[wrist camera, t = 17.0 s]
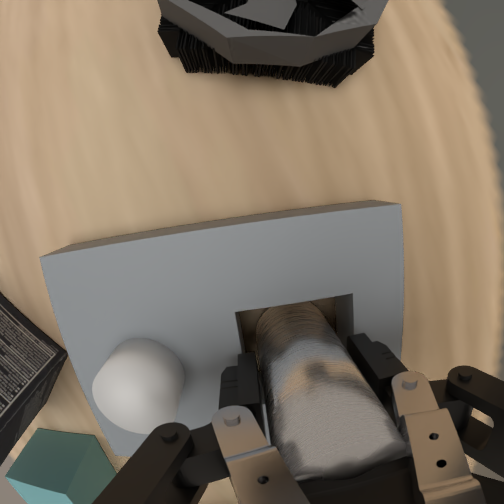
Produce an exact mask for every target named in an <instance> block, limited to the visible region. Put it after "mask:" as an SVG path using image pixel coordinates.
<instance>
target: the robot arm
mask: <svg viewBox="0 0 504 504" xmlns="http://www.w3.org/2000/svg"><path fill="white" fill-rule="evenodd" d="M347 352H348V353H349V355H350V356H351V358H352V359H353V361H354V362H355V364H356V365H357V367H358V368H359V370H360V371H361V373H362V374H363V376H364V377H365V379H366V381H367V382H368V384H369V385H370V387H371V388H372V390H373V391H374V393H375V394H376V396H377V397H378V399H379V400H380V402H381V404H382V405H383V407H384V408H385V410H386V411H387V413H388V414H389V416H390V418H391V419H392V421H393V422H394V424H395V425H396V427H397V428H398V430H399V432H400V433H401V435H402V437H403V439H404V441H405V444H406V449H405V450H406V453H407V456H405V457H402V458H399V459H396V460H393V461H390V462H387V463H384V464H381V465H379V466H377V467H375V468H374V469H372V470H370V471H368V472H366V473H364V474H362V475H360V476H358V477H356V478H354V479H347V480H318V481H312V482H307V483H301V484H298V483H297V482H296V480H295V478H294V477H293V475H292V474H291V472H290V470H289V469H288V467H287V465H286V464H285V462H284V460H283V459H282V457H281V455H280V453H279V452H278V450H277V448H276V447H275V446H274V445H269V444H268V442H267V439H266V431H265V422H264V413H263V404H262V395H261V388H260V381H259V375H258V369H257V362H256V356H255V352H249V353H241V354H238V365H237V366H229V367H226V368H225V370H224V371H223V372H222V374H221V383H220V395H219V408H218V411H217V412H215V414H214V415H213V416H212V420H211V421H212V422H210V423H209V424H207V425H205V426H203V427H199V428H196V429H192V430H189V428H188V427H187V426H186V425H184V424H182V423H177V422H170V423H165V424H162V425H160V426H158V427H156V428H155V429H154V430H153V431H152V432H151V433H150V434H149V436H148V437H147V438H146V439H145V441H144V442H143V443H142V444H141V446H140V447H139V448H138V449H137V450H136V452H135V453H134V454H133V455H132V456H131V458H130V459H129V460H128V461H127V462H126V464H125V465H124V466H123V467H122V468H121V470H120V471H119V472H118V473H117V474H116V476H115V477H114V478H113V479H112V480H111V482H110V483H109V484H108V485H107V486H106V487H105V489H104V490H103V491H102V492H101V493H100V494H99V496H98V497H97V498H96V499H95V500H94V501H93V503H92V504H198V503H199V501H200V499H201V497H202V495H203V493H204V492H205V490H206V488H207V486H208V483H210V482H214V481H217V480H220V479H223V478H227V477H229V479H230V481H231V484H232V487H233V489H234V492H235V494H236V497H237V499H238V502H239V504H504V482H502V481H498V480H495V479H491V478H487V477H484V476H480V475H477V474H474V473H471V472H470V468H469V465H468V462H467V459H466V457H465V454H467V455H468V456H470V457H471V458H473V459H474V460H476V461H478V462H479V463H481V464H482V465H484V466H485V467H487V468H489V469H490V470H492V471H493V472H495V473H497V474H498V475H500V476H501V477H503V478H504V381H502V380H500V379H498V378H496V377H493V376H491V375H489V374H487V373H485V372H482V371H480V370H478V369H476V368H474V367H471V366H458V367H455V368H453V369H451V370H450V371H449V373H448V377H447V379H446V380H437V381H428V379H427V377H426V376H425V375H423V374H421V373H419V372H414V371H408V370H407V368H406V367H405V366H404V365H403V364H402V363H401V362H400V360H399V359H398V358H397V357H396V356H395V355H394V353H393V352H391V350H390V349H389V348H388V347H387V345H385V344H383V343H381V342H379V341H374V342H372V341H371V340H370V339H369V337H368V336H367V335H366V334H365V333H360V334H355V335H350V336H348V337H347ZM473 408H475V409H477V410H479V411H481V412H483V413H484V414H486V415H488V416H490V417H491V418H492V420H493V422H494V427H493V428H492V427H490V426H488V425H486V424H484V423H483V422H481V421H479V420H477V419H476V418H474V417H472V416H471V413H472V410H473ZM464 453H465V454H464Z"/></svg>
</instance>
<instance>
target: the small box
mask: <svg viewBox="0 0 504 504" xmlns="http://www.w3.org/2000/svg"><path fill="white" fill-rule="evenodd" d="M66 358H67V352H66V351H65V350H63V349H62V348H61V347H60V346H58V345H57V344H56V343H55V342H53V341H52V340H51V339H50V338H49V337H48V336H46V335H45V334H44V333H43V332H42V331H40V330H39V329H38V328H37V327H36V326H35V325H33V324H32V323H31V322H30V321H29V320H28V319H27V318H26V317H24V316H23V315H22V314H21V313H20V312H19V311H18V310H17V309H16V308H15V307H14V306H13V305H12V304H11V303H9V302H8V301H7V300H6V299H5V298H4V297H3V296H2V295H1V294H0V466H1V464H2V463H3V462H4V460H5V459H6V457H7V456H8V454H9V453H10V451H11V450H12V448H13V447H14V446H15V444H16V443H17V441H18V440H19V439H20V437H21V436H22V434H23V433H24V432H25V430H26V429H27V427H28V426H29V425H30V423H31V422H32V420H33V419H34V418H35V416H36V415H37V414H38V412H39V411H40V410H41V408H42V407H43V406H44V405H45V403H46V401H47V399H48V397H49V395H50V393H51V390H52V388H53V386H54V384H55V381H56V379H57V377H58V375H59V372H60V370H61V368H62V366H63V364H64V362H65V360H66Z"/></svg>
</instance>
